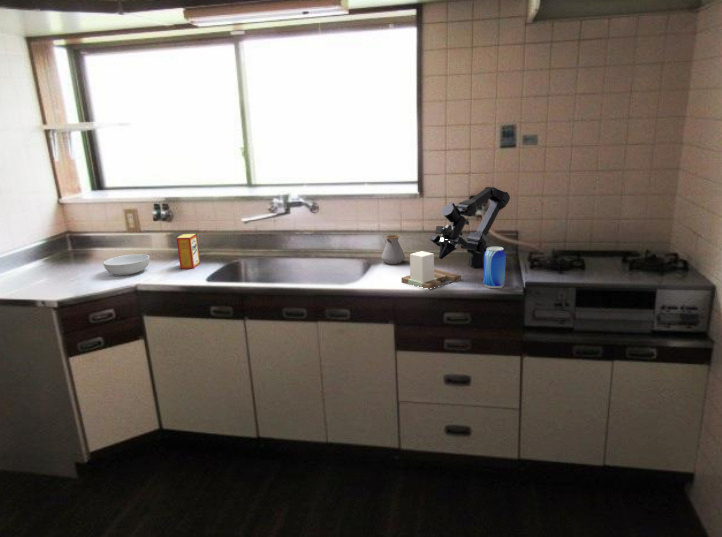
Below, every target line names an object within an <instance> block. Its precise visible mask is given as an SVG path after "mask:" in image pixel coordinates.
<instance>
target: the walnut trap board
mask: <svg viewBox="0 0 722 537" xmlns="http://www.w3.org/2000/svg"><path fill="white" fill-rule="evenodd" d="M434 278H436V279H437V281H436V280H431V281H428V282H425V283H422V287H423V288H422V289H424V288H428V289H430V288H434V287H437V288H439V287H438V286H440V287H443V286H446V285H449V284H451V283H455V282H459V281H460V280H462V275H461V274H459V273H458V274H457V273H453V272H450V271H445V270H442V269H437V268H434ZM408 279H410V274H409V275H406V276H403V277H401V279H400V280H401V283H403V284H406V285H409V284H408ZM448 283H449V284H448ZM445 284H446V285H445ZM442 285H443V286H442ZM434 289H435V288H434Z"/></svg>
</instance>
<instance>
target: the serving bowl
mask: <svg viewBox="0 0 722 537" xmlns="http://www.w3.org/2000/svg"><path fill="white" fill-rule="evenodd" d="M150 258H151V257H150V255H148V254H143V253H133V254H125V255H124V254H123V255H119V256H115V257H111V258H110V257H109V258H108V259H105V260H104V261H103V263H102V265H103V267H104V270H106V271H107V272H108V273H110V274H113V275H119V276H129V275H134V274H138V273H140V272H142V271H144V270H145V269H146V268H147V267H148V266H149V265H150V264H149V263H150Z"/></svg>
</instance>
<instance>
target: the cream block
mask: <svg viewBox="0 0 722 537" xmlns="http://www.w3.org/2000/svg"><path fill="white" fill-rule="evenodd" d="M409 268H410V269H409V272H410V273H409V275H410V279H411V280H414V281H418V282H422V283H423V282H426V281H430V280H433V279H434V269H435V253H432V252H428V251H423V250H421V251H416V252H413V253H410V254H409Z"/></svg>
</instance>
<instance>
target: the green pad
mask: <svg viewBox="0 0 722 537" xmlns="http://www.w3.org/2000/svg"><path fill="white" fill-rule="evenodd" d="M433 280H436V281H437V279H436V278H434V279H433ZM430 281H431V280H430ZM426 282H428V281H426ZM423 283H425V282H423ZM407 285H411V286H413V285H414V286H415V287H417V286H419V287H418V288H420V287H422V282H418V281H414V280H411V279H408V284H407Z"/></svg>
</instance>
